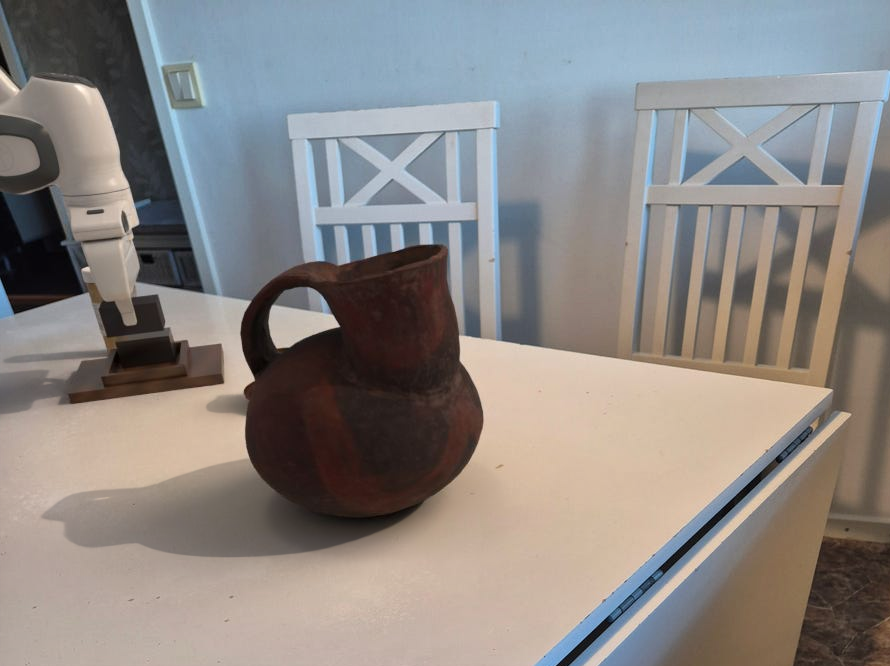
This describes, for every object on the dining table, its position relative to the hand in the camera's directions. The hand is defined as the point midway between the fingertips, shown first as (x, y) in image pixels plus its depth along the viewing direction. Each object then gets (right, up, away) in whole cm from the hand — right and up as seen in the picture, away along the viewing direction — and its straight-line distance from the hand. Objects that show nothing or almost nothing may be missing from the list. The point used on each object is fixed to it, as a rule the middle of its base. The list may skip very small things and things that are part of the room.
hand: (133, 318), depth 123 cm
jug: (+39, -31, -30) cm, 58 cm away
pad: (0, -1, +1) cm, 2 cm away
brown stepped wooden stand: (0, -6, +8) cm, 10 cm away
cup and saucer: (+24, -13, -4) cm, 28 cm away
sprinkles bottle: (-10, +2, +19) cm, 22 cm away
